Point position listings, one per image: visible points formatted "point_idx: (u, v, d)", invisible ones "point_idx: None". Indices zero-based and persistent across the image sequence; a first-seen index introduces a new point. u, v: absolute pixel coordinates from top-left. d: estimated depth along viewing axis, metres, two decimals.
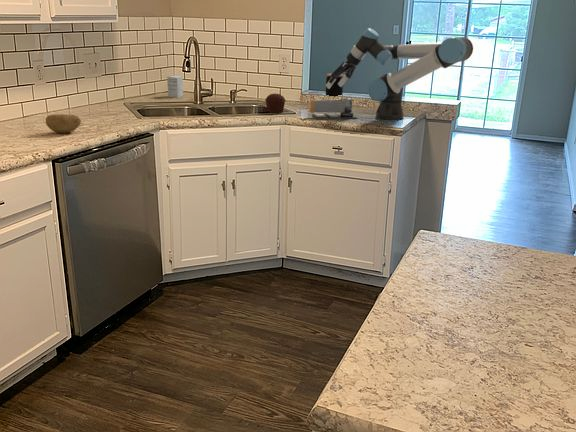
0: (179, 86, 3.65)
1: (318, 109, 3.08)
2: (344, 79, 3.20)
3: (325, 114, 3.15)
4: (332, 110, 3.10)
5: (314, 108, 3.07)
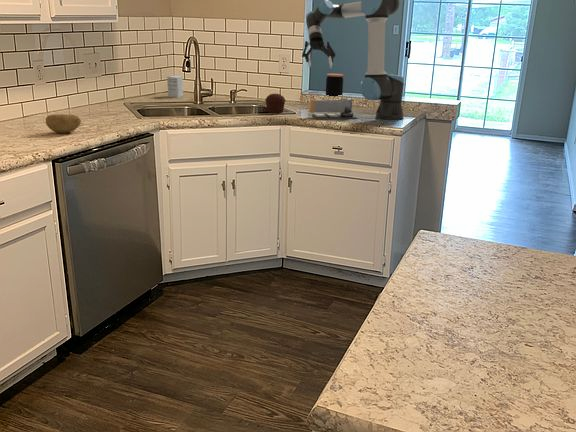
0: (179, 86, 3.65)
1: (318, 109, 3.08)
2: (329, 59, 3.20)
3: (325, 114, 3.15)
4: (332, 110, 3.10)
5: (314, 108, 3.07)
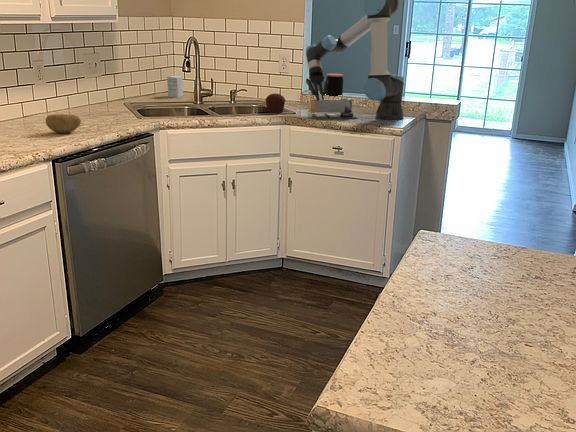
0: (179, 86, 3.65)
1: (318, 109, 3.08)
2: None
3: (325, 114, 3.15)
4: (332, 110, 3.10)
5: (314, 108, 3.07)
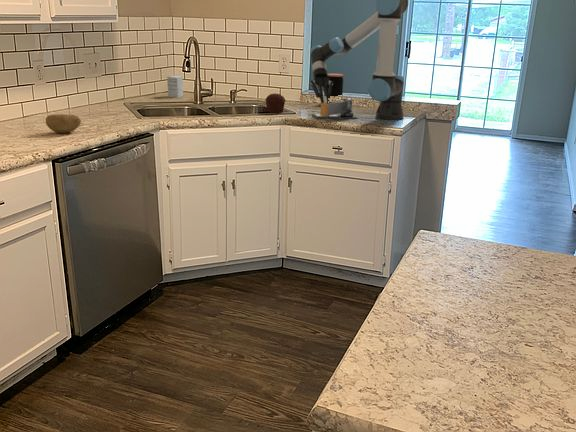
0: (179, 86, 3.65)
1: (330, 112, 3.00)
2: None
3: None
4: (339, 111, 3.06)
5: (328, 111, 2.98)
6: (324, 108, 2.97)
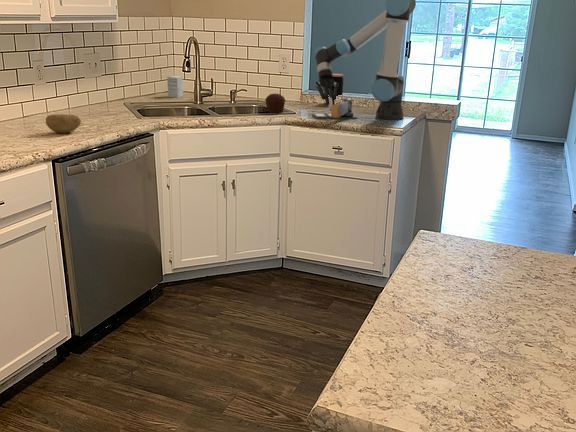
0: (179, 86, 3.65)
1: (339, 113, 2.98)
2: None
3: (325, 114, 3.15)
4: (344, 112, 3.05)
5: (338, 112, 2.96)
6: (335, 109, 2.94)
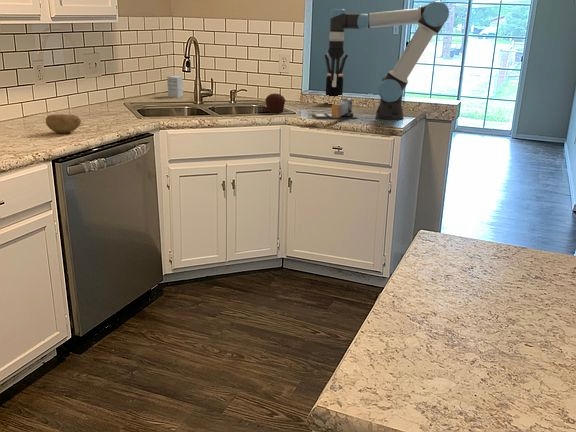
0: (179, 86, 3.65)
1: (340, 113, 2.98)
2: None
3: (325, 114, 3.15)
4: (344, 112, 3.05)
5: (338, 112, 2.96)
6: (336, 109, 2.94)
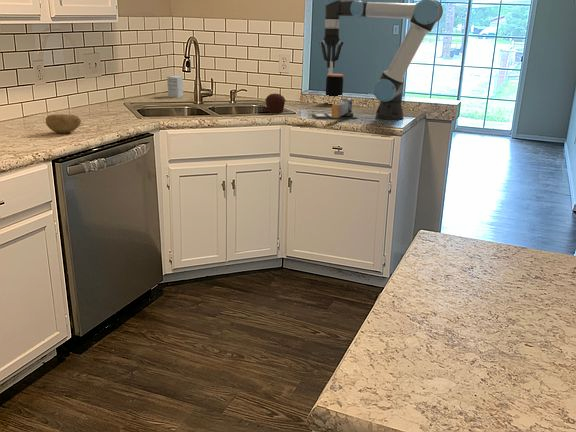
0: (179, 86, 3.65)
1: (340, 113, 2.98)
2: None
3: (325, 114, 3.15)
4: (344, 112, 3.05)
5: (338, 112, 2.96)
6: (336, 109, 2.94)
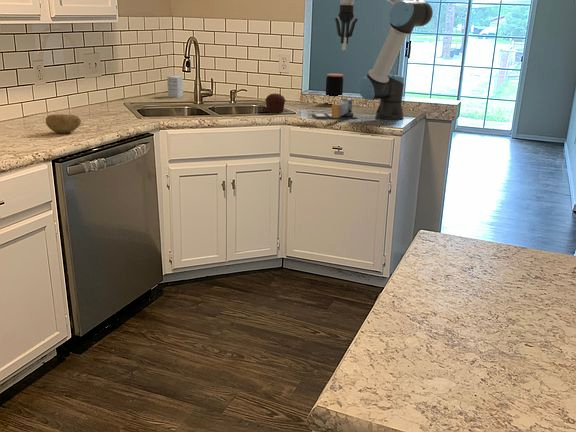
0: (179, 86, 3.65)
1: (340, 113, 2.98)
2: None
3: (325, 114, 3.15)
4: (344, 112, 3.05)
5: (338, 112, 2.96)
6: (336, 109, 2.94)
